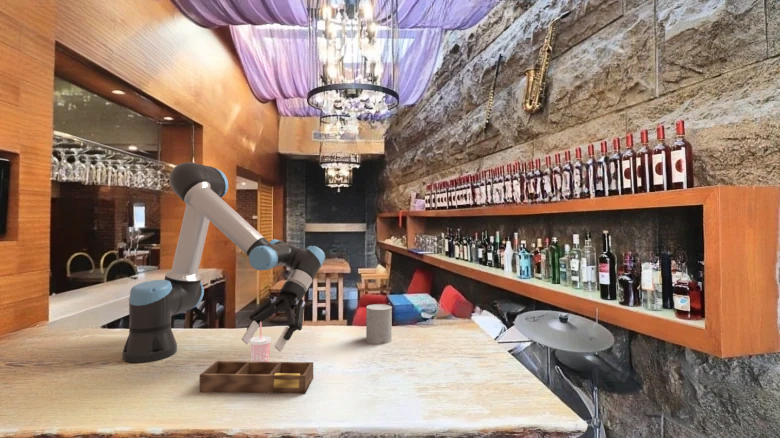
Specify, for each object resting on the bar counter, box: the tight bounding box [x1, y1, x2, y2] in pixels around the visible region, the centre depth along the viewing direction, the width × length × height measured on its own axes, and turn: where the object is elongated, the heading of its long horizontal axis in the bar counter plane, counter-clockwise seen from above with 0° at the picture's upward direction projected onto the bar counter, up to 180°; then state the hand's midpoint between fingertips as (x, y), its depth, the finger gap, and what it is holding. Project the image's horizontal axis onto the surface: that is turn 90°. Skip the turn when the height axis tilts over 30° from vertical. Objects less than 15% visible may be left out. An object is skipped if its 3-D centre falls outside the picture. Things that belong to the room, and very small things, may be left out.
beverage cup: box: [249, 321, 272, 362], centre depth 114 cm, size 6×6×14 cm
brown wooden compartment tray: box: [199, 360, 314, 395], centre depth 103 cm, size 27×10×5 cm, turn 89°
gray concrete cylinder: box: [365, 303, 393, 345], centre depth 143 cm, size 10×10×12 cm
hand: (260, 345), depth 113 cm, fingers open, 13 cm apart
